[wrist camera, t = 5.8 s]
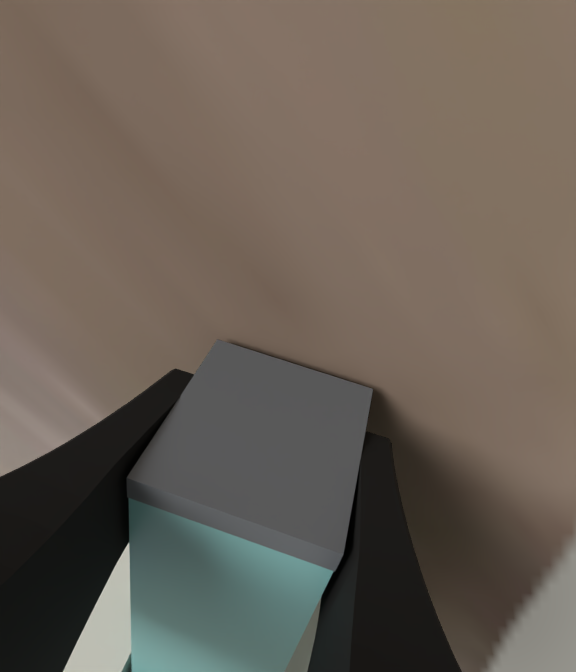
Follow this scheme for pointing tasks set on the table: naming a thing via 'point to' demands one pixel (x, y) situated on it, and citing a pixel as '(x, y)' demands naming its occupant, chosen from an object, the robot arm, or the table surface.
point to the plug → (241, 513)
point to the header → (115, 630)
